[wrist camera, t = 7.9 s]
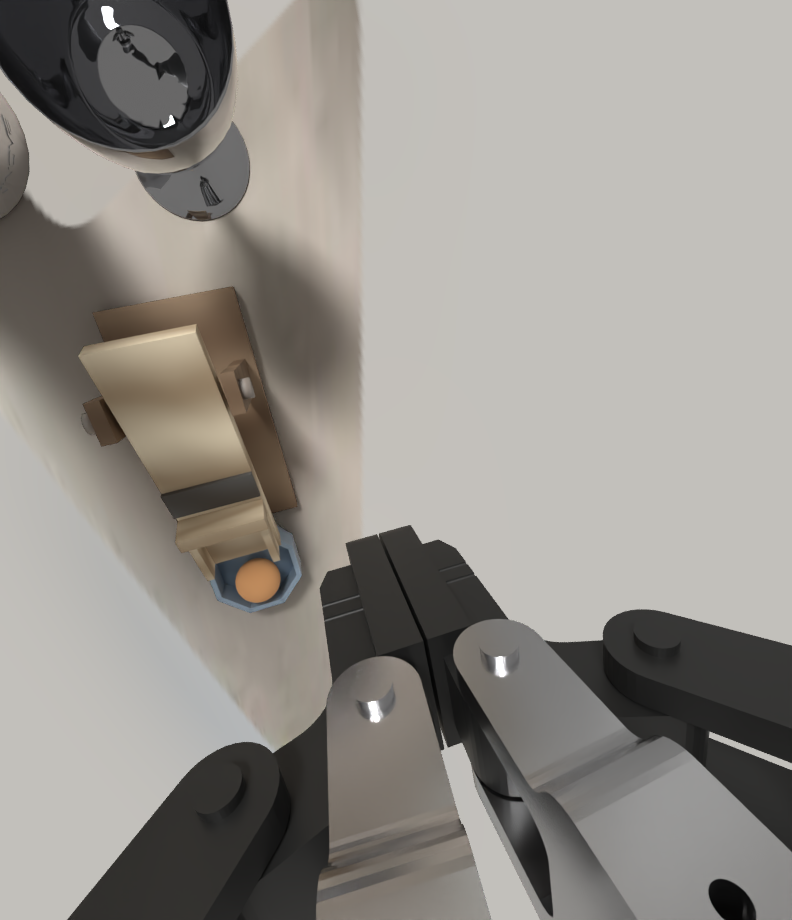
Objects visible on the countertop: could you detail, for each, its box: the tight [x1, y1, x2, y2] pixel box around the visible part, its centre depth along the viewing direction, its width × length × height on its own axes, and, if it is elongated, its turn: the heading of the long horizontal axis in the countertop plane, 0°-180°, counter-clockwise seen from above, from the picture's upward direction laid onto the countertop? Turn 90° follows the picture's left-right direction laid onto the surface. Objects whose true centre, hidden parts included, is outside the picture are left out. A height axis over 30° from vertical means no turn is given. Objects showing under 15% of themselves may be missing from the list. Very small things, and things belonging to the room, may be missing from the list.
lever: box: [78, 324, 281, 581], centre depth 27 cm, size 17×6×3 cm, turn 11°
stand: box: [81, 286, 297, 523], centre depth 29 cm, size 17×9×9 cm, turn 11°
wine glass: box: [0, 0, 250, 221], centre depth 22 cm, size 8×8×15 cm
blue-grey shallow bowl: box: [210, 525, 302, 613], centre depth 37 cm, size 7×7×2 cm
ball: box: [235, 558, 281, 603], centre depth 36 cm, size 4×4×4 cm
